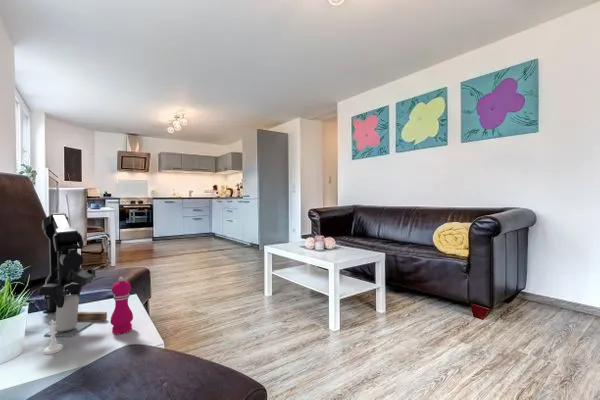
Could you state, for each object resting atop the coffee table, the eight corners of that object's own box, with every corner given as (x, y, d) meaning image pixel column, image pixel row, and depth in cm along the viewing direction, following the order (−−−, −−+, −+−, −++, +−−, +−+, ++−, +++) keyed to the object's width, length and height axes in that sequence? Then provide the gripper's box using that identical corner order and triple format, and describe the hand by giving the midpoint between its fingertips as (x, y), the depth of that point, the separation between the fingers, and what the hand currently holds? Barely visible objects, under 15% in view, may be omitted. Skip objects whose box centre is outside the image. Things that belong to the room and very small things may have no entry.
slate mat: (44, 336, 107) (44, 334, 107) (66, 323, 117) (66, 322, 117) (71, 336, 107) (71, 335, 107) (91, 324, 117) (91, 322, 117)
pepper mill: (109, 336, 107) (108, 280, 106) (111, 328, 113) (110, 275, 112) (133, 332, 110) (132, 278, 109) (133, 324, 116) (132, 273, 116)
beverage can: (65, 332, 106) (68, 297, 108) (49, 331, 107) (53, 296, 109) (80, 327, 113) (83, 294, 114) (65, 326, 114) (68, 293, 115)
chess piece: (50, 346, 100) (49, 316, 100) (66, 345, 100) (65, 316, 100) (39, 354, 95) (38, 323, 95) (55, 353, 96) (54, 322, 95)
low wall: (54, 320, 120) (54, 313, 120) (58, 318, 122) (57, 311, 121) (104, 321, 119) (104, 313, 119) (106, 319, 121) (106, 312, 121)
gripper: (68, 271, 102) (70, 317, 102) (105, 258, 120) (106, 297, 121) (36, 271, 102) (37, 316, 102) (78, 258, 121) (79, 297, 121)
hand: (68, 306), depth 112 cm, fingers closed on beverage can, 6 cm apart
